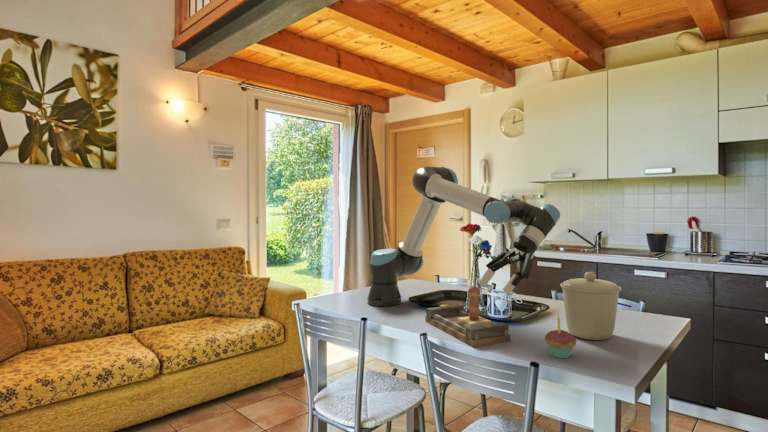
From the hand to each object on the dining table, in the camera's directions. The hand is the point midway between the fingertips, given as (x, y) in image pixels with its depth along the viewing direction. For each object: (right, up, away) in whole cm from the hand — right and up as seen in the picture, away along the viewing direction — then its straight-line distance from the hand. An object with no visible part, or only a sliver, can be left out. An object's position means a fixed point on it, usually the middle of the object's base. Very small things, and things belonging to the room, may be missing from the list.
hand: (492, 288), depth 147 cm
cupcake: (+14, -16, -21) cm, 30 cm away
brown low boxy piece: (-9, -15, +4) cm, 18 cm away
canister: (+31, -15, -4) cm, 35 cm away
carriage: (-7, -13, -1) cm, 15 cm away
